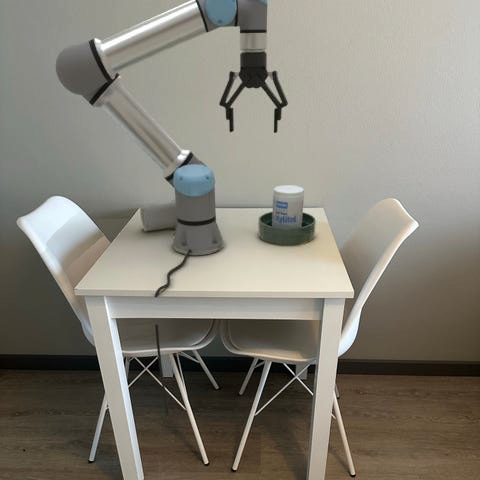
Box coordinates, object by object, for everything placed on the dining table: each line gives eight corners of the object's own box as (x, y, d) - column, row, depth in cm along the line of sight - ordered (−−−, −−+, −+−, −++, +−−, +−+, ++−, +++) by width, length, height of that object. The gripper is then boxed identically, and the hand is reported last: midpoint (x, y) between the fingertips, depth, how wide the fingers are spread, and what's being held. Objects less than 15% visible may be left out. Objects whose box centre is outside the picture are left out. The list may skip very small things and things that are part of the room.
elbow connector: (189, 232, 152) (202, 213, 169) (180, 201, 147) (194, 184, 164) (140, 241, 156) (157, 222, 173) (129, 211, 151) (148, 194, 168)
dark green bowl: (322, 243, 145) (323, 226, 143) (265, 248, 143) (265, 231, 140) (304, 224, 161) (305, 208, 158) (253, 228, 158) (253, 212, 155)
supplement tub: (274, 240, 147) (275, 193, 140) (269, 229, 155) (270, 185, 148) (304, 238, 148) (307, 192, 140) (298, 228, 156) (300, 184, 148)
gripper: (299, 50, 132) (295, 130, 143) (213, 51, 137) (216, 129, 148) (296, 51, 126) (293, 134, 137) (207, 52, 130) (210, 133, 141)
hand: (253, 131), depth 142 cm, fingers open, 13 cm apart
